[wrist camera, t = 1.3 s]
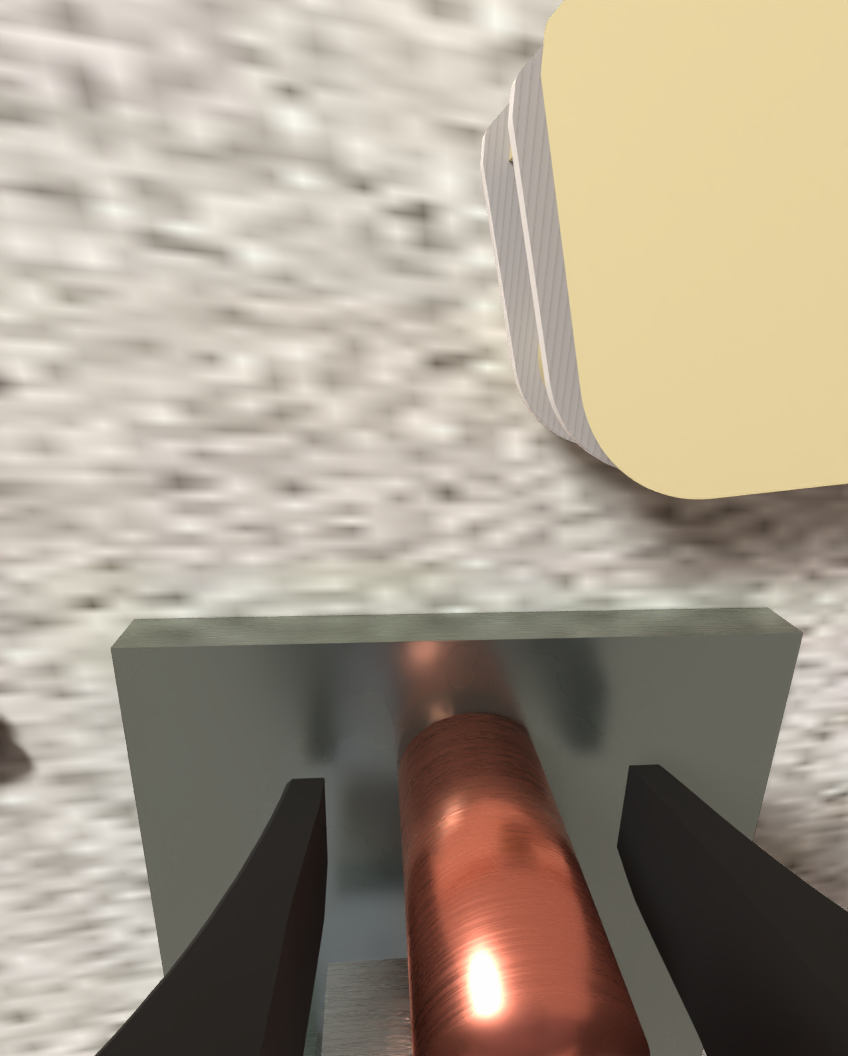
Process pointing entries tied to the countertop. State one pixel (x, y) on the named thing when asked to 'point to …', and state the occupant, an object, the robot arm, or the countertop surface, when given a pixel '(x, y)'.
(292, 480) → the countertop surface
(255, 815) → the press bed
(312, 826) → the robot arm
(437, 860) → the ram
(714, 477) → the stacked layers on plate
